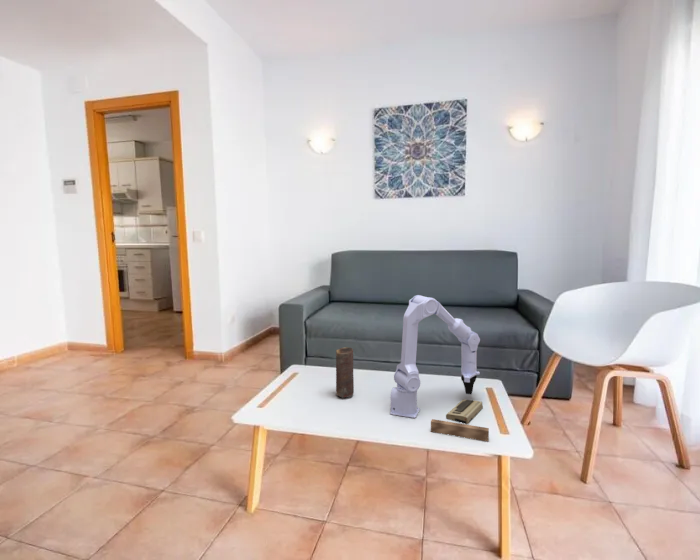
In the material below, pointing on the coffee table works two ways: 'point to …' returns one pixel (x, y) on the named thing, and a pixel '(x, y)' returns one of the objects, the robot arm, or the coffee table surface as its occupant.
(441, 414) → the coffee table surface
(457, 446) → the coffee table surface
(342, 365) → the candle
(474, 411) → the computer
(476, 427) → the bar
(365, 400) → the coffee table surface
